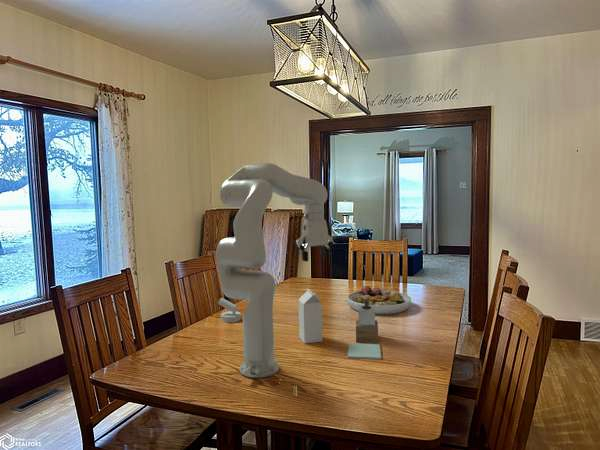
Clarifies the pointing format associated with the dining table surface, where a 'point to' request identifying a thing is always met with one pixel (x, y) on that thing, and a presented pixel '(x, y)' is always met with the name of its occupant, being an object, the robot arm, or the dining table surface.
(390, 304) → the bowl
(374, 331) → the post
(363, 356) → the mat
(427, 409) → the dining table surface
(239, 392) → the dining table surface
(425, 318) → the dining table surface
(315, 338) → the milk carton
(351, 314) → the dining table surface
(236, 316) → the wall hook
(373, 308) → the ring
